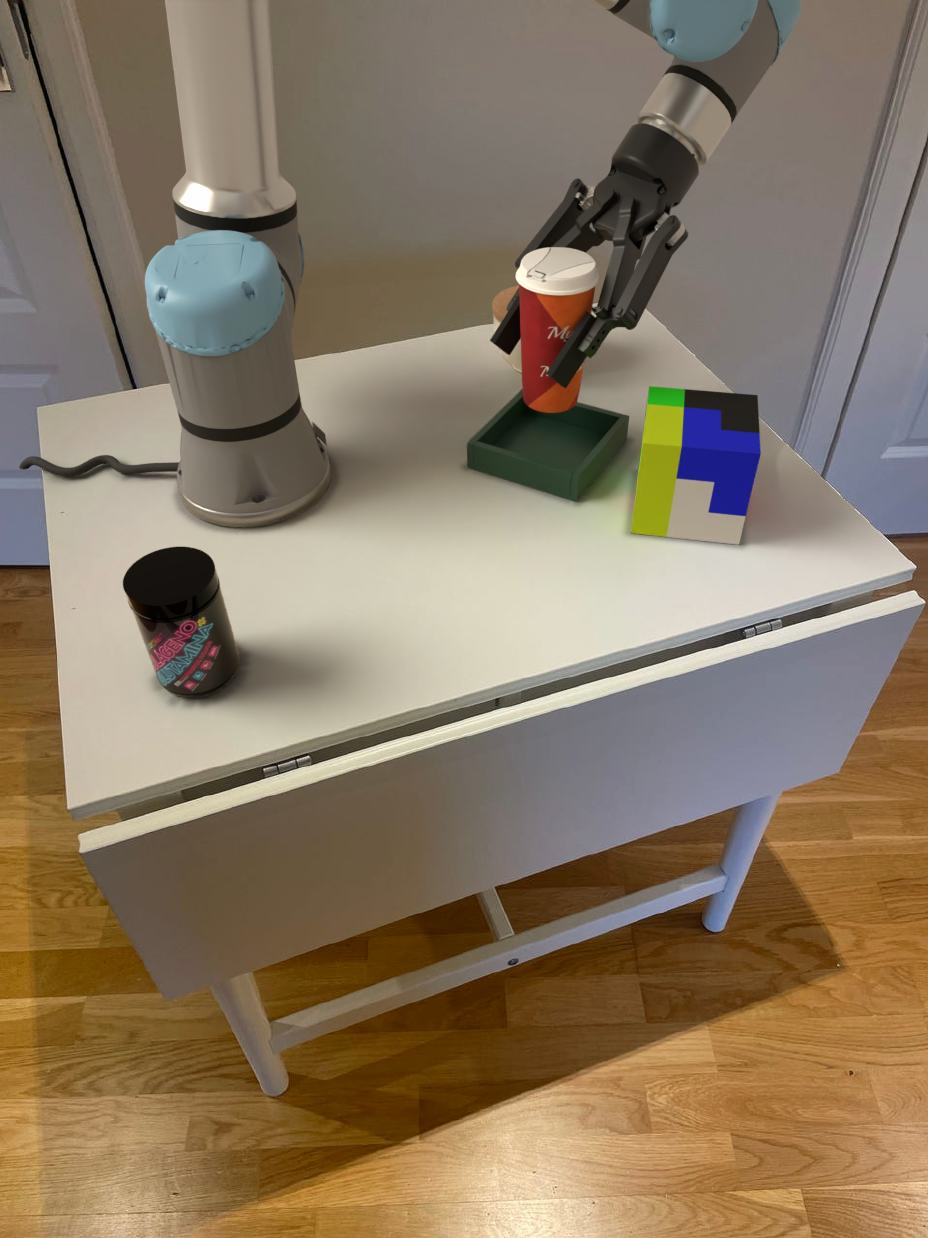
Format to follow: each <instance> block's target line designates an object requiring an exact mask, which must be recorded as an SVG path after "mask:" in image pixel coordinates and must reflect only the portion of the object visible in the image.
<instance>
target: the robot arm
mask: <svg viewBox="0 0 928 1238" xmlns="http://www.w3.org/2000/svg"><path fill="white" fill-rule="evenodd" d="M590 1H591V2H593V3H595V4H596V5H598V6H600V7H601V8H603V9H605V10H606V11H608V12H610V13H611V14H612V15H614V16H615V17H616V18H618V19H619V20H622V21H623V22H625V23H627V24H629V25H630V26H631V27H633V28H635V29H637V30H638V31H640V32H642V33H644V34H645V35H647V36H648V37H650V38H651V39H653V40H655V41H656V42H657V45H658V46H659V47H660V48H661V49H662V50H663V52H666V53H667V54H669V55H672V56H673V59H672V61H671V63H670V64H669V67H667V69H666V70H665V72H664V74H663V75H662V78H661V79H660V81H659V83H658V84H657V86H656V87H655V89H654V91H652V94H651V95H650V96H649V98H648V100H647V101H646V102H645V104H644V105H643V107H642V109H641V110H640V112H639V113H638V115H637V123H636V124H633V125H631V126H630V128H628V131H627V132H626V134H625V135H624V137H623V138H622V140H621V142H620V143H619V145H618V147H617V148H616V150H615V151H614V153H613V154H612V156H611V164H610V169H609V172H608V174H607V175H606V176H605V177H604V178H603V179H602V180H601V181H599V182H598V183H597V184H596V185H593V184H591V185H590V184H585V183H584V182H583V180H582V179H581V178H575V179H573V180H572V181H571V183H570V185H569V186H568V189H567V191H566V193H565V196H564V197H563V200H562V201H561V203H560V204H558V206H557V208H556V209H555V210H554V211H553V212H552V214H551V215H550V216H549V217H548V219H547V220H546V222H545V223H544V224H543V225H542V227H540V229H539V230H538V231H537V233H536V234H535V235H534V237H533V238H532V240H531V241H530V242H529V243H528V245H527V246H526V247H525V249H523V251H522V252H521V253H520V254H519V256H518V257H517V259H516V260H515V263H514V267H515V268H516V269H517V270H518V269H519V267H520V264H521V260H522V259H523V257H524V256H525V255H526V254H528V253H530V252H532V251H534V250H537V249H541V248H547V247H565V248H572V249H576V250H580V251H582V252H585V253H587V252H588V251H589V250H591V249H592V248H594V247H599V246H600V245H602V244H603V243H604V242H605V241H608V242H612V245H613V248H612V251H611V255H610V259H609V263H608V266H607V269H606V273H605V276H604V280H603V284H602V287H601V291H600V294H599V297H598V301H597V305H596V306H592V312H591V314H590V313H588V312H586V313H585V314H584V316H583V317H582V319H581V321H580V322H579V324H578V325H577V327H576V328H575V330H574V331H573V333H572V334H571V336H570V337H569V339H568V340H567V342H566V344H565V345H564V347H563V348H562V350H561V351H560V353H559V354H558V356H557V357H556V359H555V360H554V362H553V363H552V365H551V366H550V368H549V370H548V371H547V373H546V374H547V375H548V376H550V377H551V378H552V379H553V380H554V381H556V382H557V383H558V384H559V385H560V386H562V387H564V388H567V386H568V385H569V383H570V382H571V380H572V379H573V377H574V375H575V374H576V372H577V371H578V369H579V368H580V366H581V365H582V363H583V362H584V363H585V360H586V359H587V358H589V359H592V357H594V356H595V355H596V354H597V352H598V350H599V349H600V347H601V345H603V343H604V341H605V340H606V339H607V337H608V335H609V334H610V332H611V331H612V330H614V329H616V328H625V329H626V330H628V331H632V330H634V329H635V328H636V327H637V326H638V324H639V322H640V319H642V316H643V314H644V312H645V310H646V308H647V306H648V304H649V302H650V300H651V298H652V296H653V294H654V292H655V290H656V288H657V286H658V284H659V283H660V280H661V278H662V276H663V274H664V272H665V270H666V269H667V267H668V265H669V263H670V261H671V259H672V257H673V256H674V254H675V252H676V251H678V249H679V248H680V247H681V246H682V245H683V244H684V243H685V241H686V240H687V239H688V237H689V232H688V230H687V229H686V227H685V226H684V224H683V223H682V222H681V221H680V219H679V218H678V217H677V215H676V214H671V210H672V208H676V207H677V206H679V205H680V204H681V202H682V201H683V199H684V198H685V197H686V195H687V193H688V192H689V190H690V189H691V187H692V186H693V184H695V183H694V182H695V181H696V180H697V179H698V176H699V175H700V167H703V166H705V165H706V164H707V162H708V161H709V159H710V158H711V156H712V155H713V153H714V152H715V150H716V148H717V147H718V145H719V144H720V143H721V141H722V140H723V138H724V137H725V135H726V133H727V132H728V130H729V129H730V127H731V126H732V124H733V123H734V121H735V119H736V118H737V116H738V115H739V114H740V112H741V110H742V108H743V107H744V106H745V104H746V103H747V101H748V100H749V98H750V97H751V95H752V94H753V92H754V91H755V89H756V88H757V86H758V85H759V84H760V82H761V81H762V79H763V78H764V77H765V75H766V73H767V72H768V70H769V69H770V67H771V66H773V65H774V63H775V62H776V61H777V60H778V59H779V56H780V54H781V51H782V49H783V48H784V46H785V45H786V43H787V41H788V40H789V38H790V36H791V35H792V32H793V30H794V28H795V26H796V24H797V23H798V21H799V18H800V17H801V12H802V11H801V10H802V0H590ZM164 5H165V12H166V21H167V29H168V36H169V44H170V45H169V46H170V53H171V60H172V68H173V76H174V83H175V92H176V100H177V101H176V102H177V108H178V116H179V125H180V133H181V141H182V148H183V149H182V150H183V156H184V164H185V165H184V167H185V174H184V175H183V176H182V177H181V178H180V179H179V181H178V182H177V183H176V184H174V186H173V187H172V192H171V193H172V194H171V195H172V201H173V209H174V216H175V217H174V218H175V225H176V233H177V239H176V240H175V241H174V244H173V245H169V244H168V245H165V246H163V247H162V248H160V249H159V250H158V251H157V253H155V255H154V256H153V257H152V259H151V260H150V261H149V263H148V265H147V267H146V269H145V270H146V271H145V275H144V290H145V294H146V308H147V311H148V316H149V317H148V318H149V321H150V322H151V324H152V327H153V328H154V331H155V334H156V338H157V342H158V345H159V350H160V353H161V357H162V360H163V361H162V362H163V364H164V368H165V371H166V375H167V377H168V379H167V380H168V383H169V386H170V389H171V393H172V398H173V401H174V403H175V408H176V412H177V415H178V418H179V423H180V427H181V430H180V431H181V432H180V440H179V441H180V443H179V457H180V459H179V462H149V463H139V464H124V463H121V461H119V459H117V458H116V457H115V456H113V455H110V454H102V455H97V456H94V457H91V458H89V459H88V460H86V461H85V462H82V463H81V464H78V465H76V466H71V467H64V466H59V465H57V464H54V463H52V462H50V461H49V460H47V459H44V458H43V457H39V456H36V455H31V456H27V457H25V459H23V460H22V461H21V462H20V464H19V466H18V468H19V469H20V470H28V469H30V468H32V466H36V467H39V468H40V469H42V470H45V471H46V472H48V473H50V474H53V475H55V476H58V477H65V478H71V477H77V476H81V475H83V474H85V473H87V472H89V471H91V470H93V469H94V468H96V467H99V466H102V465H109V466H110V467H111V468H112V469H113V470H115V471H116V472H118V473H120V474H124V475H138V474H147V473H165V472H166V473H168V472H169V473H170V472H171V473H174V472H177V473H176V475H177V476H176V483H177V487H178V491H179V495H180V498H181V500H182V503H183V505H184V506H185V508H186V509H187V510H188V511H189V512H190V513H191V514H193V516H195V517H197V518H198V519H200V520H203V521H204V522H206V523H207V522H208V523H211V524H214V525H218V526H223V527H231V528H251V527H253V528H254V527H261V526H267V525H272V524H275V523H279V522H282V521H286V520H288V519H291V518H293V517H295V516H297V515H299V514H301V513H303V512H305V511H307V510H308V509H309V508H311V507H313V506H314V505H315V504H316V503H317V502H318V501H319V500H321V499H322V497H323V496H324V495H325V493H326V492H327V490H328V489H329V486H330V483H331V478H332V477H331V475H332V472H331V466H330V460H329V455H328V453H327V451H326V448H325V446H326V447H328V445H327V437H326V433H325V432H324V431H323V430H322V429H321V428H320V427H319V426H318V425H317V424H316V423H315V422H314V421H311V420H310V419H309V417H308V416H307V414H306V412H305V410H304V408H303V405H302V399H301V393H300V387H299V380H298V373H297V367H296V361H295V355H294V349H293V337H292V335H293V328H294V327H293V326H294V319H295V314H296V308H297V303H298V297H299V292H300V287H301V284H302V278H303V276H304V272H305V261H306V260H305V250H304V244H303V242H302V236H301V234H300V230H299V224H298V223H299V221H298V204H297V203H298V202H297V201H298V199H297V192H296V190H295V188H294V187H293V186H292V185H291V184H290V183H289V181H287V180H286V179H285V178H284V177H283V176H282V174H281V173H280V161H279V143H278V127H277V111H276V96H275V95H276V93H275V78H274V76H275V75H274V61H273V60H274V58H273V42H272V41H273V40H272V26H271V25H272V24H271V9H270V0H164ZM591 226H592V227H591ZM651 234H652V235H651ZM650 235H651V237H650V239H649V241H648V242H647V244H646V240H647V237H649V236H650ZM645 245H646V247H645ZM637 261H638V262H637ZM506 310H507V311H508V312H507V314H506V316H505V317H504V319H503V320H502V322H501V324H500V325H499V327H498V328H497V330H496V331H495V333H494V332H493V334H492V336H491V338H490V339H489V341H490V342H491V343H492V344H493V345H494V346H496V347H497V349H499V348H500V349H501V350H502V351H503V352H505V353H506V354H508V355H510V354H511V352H512V351H513V349H514V348H515V346H516V345H517V343H518V342H519V340H520V338H521V331H520V296H519V288H518V290H517V291H516V293H515V294H514V296H513V297H512V300H511V301H510V302H509V304H508V306H507V309H506ZM592 313H593V314H594V315H593V314H592ZM323 444H324V445H323ZM43 468H44V469H43Z"/></svg>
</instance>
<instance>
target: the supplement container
mask: <svg viewBox="0 0 928 1238" xmlns="http://www.w3.org/2000/svg"><path fill="white" fill-rule="evenodd" d="M217 572H218V571H217V568H216V564H215V562H214V560H213V558H212V557H211V556H210V555H209V554H208V553H207V552H205V551H203V550H202V549H199V548H195V547H191V546H169V547H164V548H160V549H156V550H154V551H151V552H149V553H147V554H145V555H143V556H142V557H140V558H139V559H137V560H136V561H135V562H133V564H131V565H130V566H129V568H128V569H127V570H126V572H125V574H124V576H123V579H122V588H123V591H124V594H125V596H126V600H127V603H128V606H129V608H130V610H131V612H132V614H133V616H134V617H133V618H134V619H135V622H136V625H137V627H138V630H139V632H140V635H141V638H142V640H143V641H142V642H143V643H144V646H145V649H146V651H147V654H148V656H149V660H150V662H151V664H152V667H153V670H154V673H155V676H156V679H157V681H158V683H159V684H160V686H161V687H162V688H163V689H165V690H166V691H167V692H169V693H170V694H173V695H174V696H178V697H183V698H202V697H205V696H210V695H212V694H214V693H216V692H218V691H219V690H221V689H223V688H224V687H226V686H227V685H228V684H229V683H230V682H231V681H232V680H233V679H234V678H235V676H236V674H237V672H238V670H239V666H240V660H241V659H240V653H239V649H238V646H237V642H236V639H235V635H234V632H233V627H232V625H231V620H230V617H229V613H228V609H227V606H226V603H225V598H224V595H223V591H222V589H221V582H220V578H219V575H218V573H217Z"/></svg>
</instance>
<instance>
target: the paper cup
mask: <svg viewBox="0 0 928 1238" xmlns="http://www.w3.org/2000/svg"><path fill="white" fill-rule="evenodd" d="M600 279H601V275H600V272H599V270H598V269H597V263H596V261H595V259H594V258H593V257H592V256H591V255H590V254H589V253H587V252H586V253H585V252H582V251H580V250H576V249H572V248H565V247H547V248H541V249H537V250H534V251H532V252H530V253H528V254H526V255H525V256H524V257H523V259H522V260H521V264H520V267H519V269H517V270H516V272H515V280H516V282H517V283H518V285H519V296H520V331H521V364H522V373H521V383H522V384H521V385H522V386H521V387H522V388H521V389H523V399H524V402H525V403H526V404H527V405H528V406H529V407H530V408H532V409H534V410H537V411H540V412H546V413H557V412H563V411H566V410H569V409H571V408H572V407H574V406H575V404H576V403H577V402H578V400H579V396H580V391H581V385H582V380H583V379H582V378H583V373H584V365H585V361H584V362H583V363H582V365H581V366H580V368H579V369H578V371H577V372H576V374H575V375H574V377H573V379H572V380H571V382H570V383H569V385H568V386H567V388H564V387H562V386H560V385H559V384H558V383H557V382H556V381H554V380H553V379H552V378H551V377H550V376H548V375H547V374H546V373H547V371H548V370H549V368H550V366H551V365H552V363H553V362H554V360H555V359H556V357H557V356H558V354H559V353H560V351H561V350H562V348H563V347H564V345H565V344H566V342H567V340H568V339H569V337H570V336H571V334H572V333H573V331H574V330H575V328H576V327H577V325H578V324H579V322H580V321H581V319H582V317H583V316H584V314H585V313H586V312H588V313H590V314H592V313H593V312H592V307H593V306H594V305H593V304H594V298H595V291H596V286H597V285H598V284H599V283H600Z"/></svg>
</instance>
